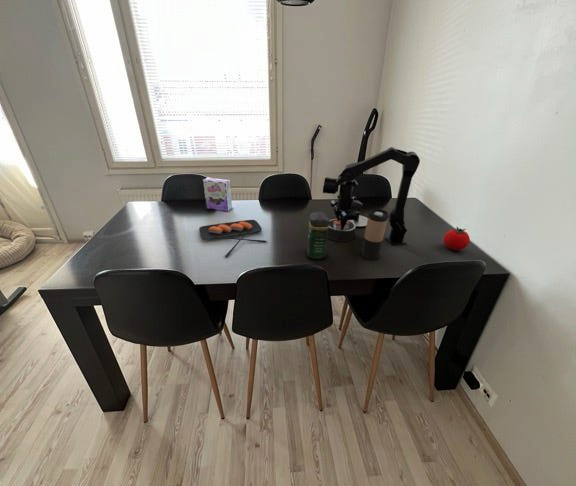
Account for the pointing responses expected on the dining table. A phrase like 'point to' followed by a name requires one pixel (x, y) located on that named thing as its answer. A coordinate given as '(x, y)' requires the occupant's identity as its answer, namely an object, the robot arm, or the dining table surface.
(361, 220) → the pan lid
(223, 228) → the sushi plate
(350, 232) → the pan
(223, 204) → the candy box
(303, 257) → the dining table surface
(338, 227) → the sushi
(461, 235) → the tomato
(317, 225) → the coffee jar
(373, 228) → the travel mug
